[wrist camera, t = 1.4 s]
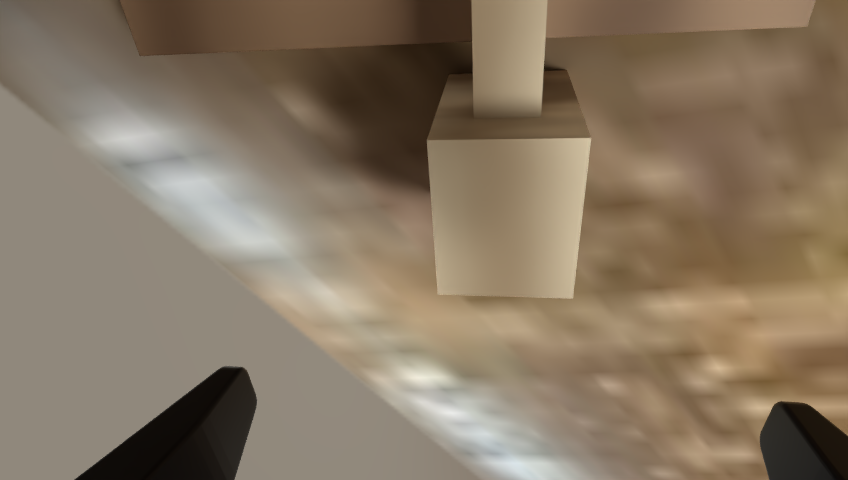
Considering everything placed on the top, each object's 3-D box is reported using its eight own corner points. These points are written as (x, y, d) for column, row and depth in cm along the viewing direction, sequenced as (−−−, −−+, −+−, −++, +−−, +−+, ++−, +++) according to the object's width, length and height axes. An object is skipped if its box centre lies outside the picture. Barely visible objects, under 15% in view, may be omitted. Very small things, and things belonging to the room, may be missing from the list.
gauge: (595, -280, 13) (652, -399, 8) (556, 204, 20) (572, 303, 15) (434, -259, 13) (391, -355, 8) (454, 204, 21) (438, 299, 16)
